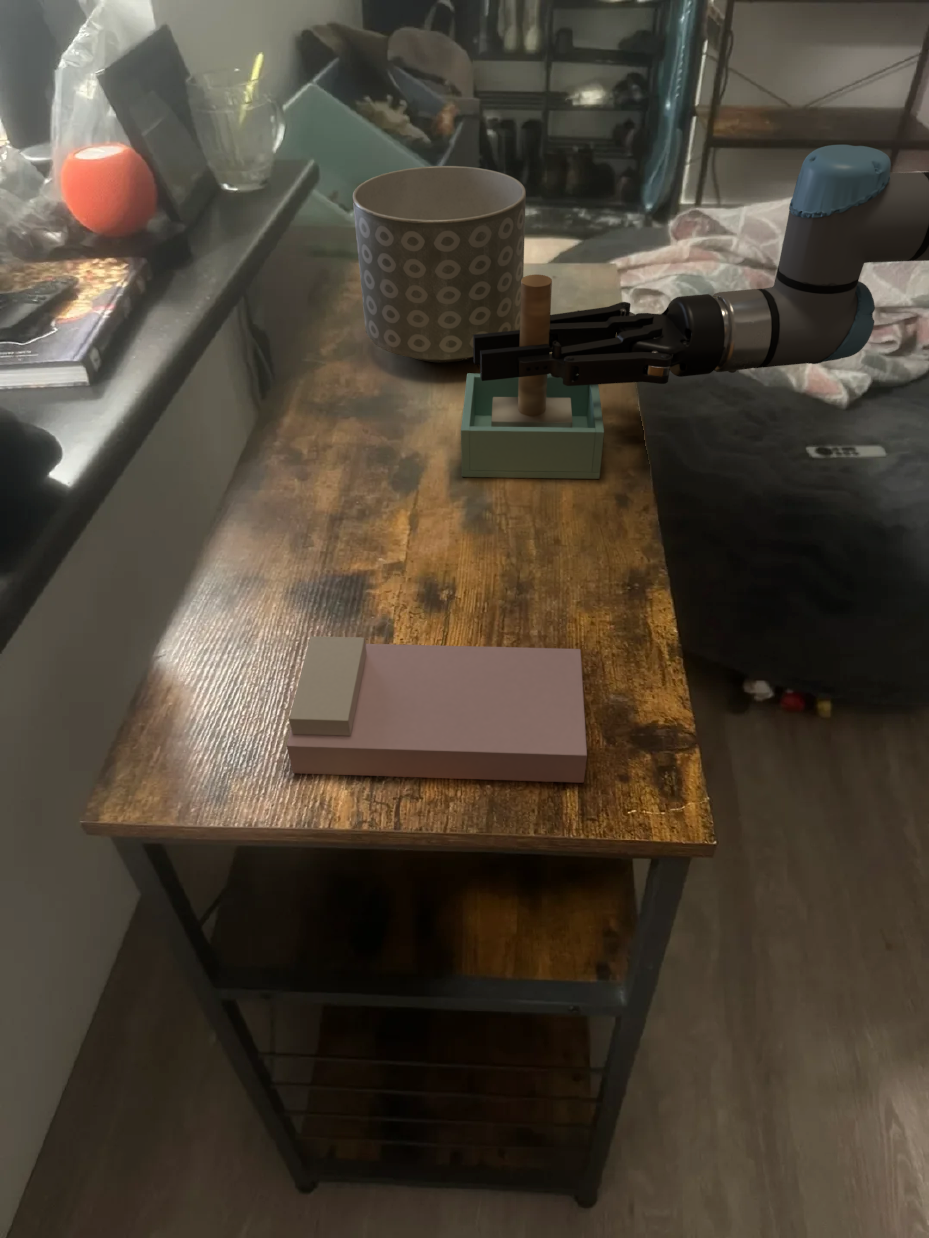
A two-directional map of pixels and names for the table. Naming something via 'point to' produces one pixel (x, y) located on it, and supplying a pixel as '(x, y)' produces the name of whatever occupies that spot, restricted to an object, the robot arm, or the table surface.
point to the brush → (533, 389)
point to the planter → (439, 258)
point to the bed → (439, 712)
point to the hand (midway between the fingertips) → (478, 357)
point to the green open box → (531, 434)
